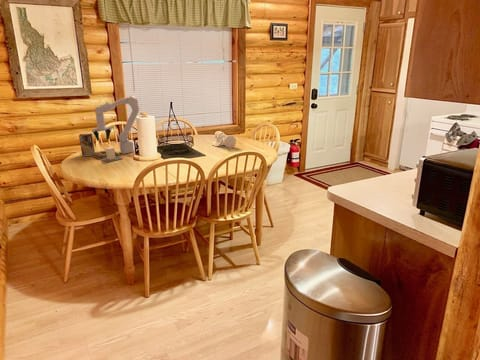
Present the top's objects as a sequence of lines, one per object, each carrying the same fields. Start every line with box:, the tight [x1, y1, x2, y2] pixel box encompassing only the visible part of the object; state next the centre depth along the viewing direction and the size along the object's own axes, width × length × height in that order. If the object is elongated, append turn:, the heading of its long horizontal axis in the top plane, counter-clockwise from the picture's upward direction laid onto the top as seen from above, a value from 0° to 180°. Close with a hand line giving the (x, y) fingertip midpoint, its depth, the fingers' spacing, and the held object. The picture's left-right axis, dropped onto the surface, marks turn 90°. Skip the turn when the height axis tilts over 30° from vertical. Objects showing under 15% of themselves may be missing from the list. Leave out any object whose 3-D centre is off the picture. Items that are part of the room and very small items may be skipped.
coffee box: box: [78, 132, 96, 157], centre depth 279 cm, size 9×6×16 cm
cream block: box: [105, 146, 116, 160], centre depth 269 cm, size 4×4×8 cm
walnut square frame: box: [92, 149, 119, 160], centre depth 279 cm, size 14×12×2 cm
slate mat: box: [100, 156, 123, 163], centre depth 270 cm, size 12×10×1 cm
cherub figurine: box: [212, 130, 237, 149], centre depth 303 cm, size 13×12×20 cm
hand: (103, 140), depth 283 cm, fingers open, 7 cm apart
